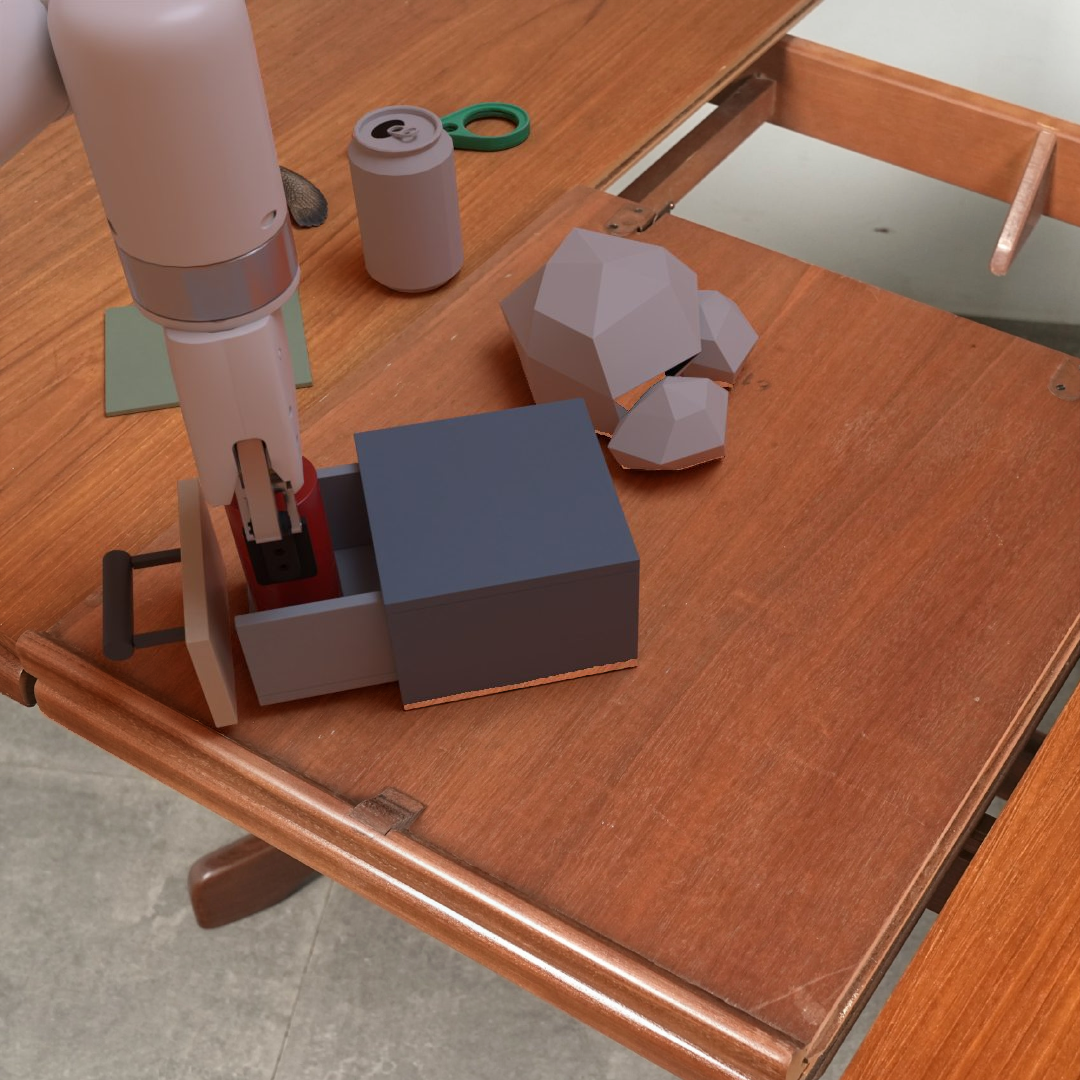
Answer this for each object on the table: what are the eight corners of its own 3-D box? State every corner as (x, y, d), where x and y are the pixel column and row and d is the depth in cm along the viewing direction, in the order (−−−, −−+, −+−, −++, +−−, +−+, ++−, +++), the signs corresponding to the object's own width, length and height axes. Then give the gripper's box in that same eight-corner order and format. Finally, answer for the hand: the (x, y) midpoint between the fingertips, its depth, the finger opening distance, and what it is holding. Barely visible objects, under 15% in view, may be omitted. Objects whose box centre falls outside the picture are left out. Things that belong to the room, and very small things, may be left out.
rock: (756, 312, 102) (767, 197, 94) (756, 501, 89) (769, 383, 81) (511, 301, 102) (503, 186, 95) (476, 487, 89) (464, 370, 82)
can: (411, 230, 109) (392, 87, 99) (484, 263, 106) (473, 118, 97) (346, 276, 104) (320, 131, 95) (421, 311, 102) (402, 165, 93)
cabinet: (404, 711, 77) (384, 604, 71) (373, 542, 86) (353, 433, 79) (637, 667, 80) (640, 559, 73) (585, 506, 88) (583, 396, 81)
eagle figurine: (187, 212, 108) (274, 224, 104) (191, 116, 106) (279, 125, 102) (255, 219, 115) (340, 231, 111) (260, 130, 113) (346, 138, 109)
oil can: (262, 655, 78) (218, 508, 69) (256, 591, 81) (212, 442, 72) (351, 639, 78) (318, 491, 70) (341, 576, 82) (309, 427, 73)
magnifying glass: (520, 110, 121) (519, 91, 119) (538, 144, 117) (537, 126, 116) (348, 137, 118) (346, 118, 116) (362, 173, 114) (359, 155, 113)
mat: (106, 417, 94) (105, 412, 94) (106, 313, 101) (104, 308, 101) (313, 386, 96) (312, 381, 96) (297, 286, 104) (296, 282, 103)
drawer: (126, 745, 75) (88, 660, 69) (124, 581, 83) (89, 494, 77) (441, 686, 78) (428, 600, 72) (410, 533, 85) (396, 445, 80)
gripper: (121, 164, 66) (205, 448, 80) (125, 387, 55) (222, 671, 69) (279, 145, 67) (335, 427, 81) (313, 359, 56) (372, 644, 70)
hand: (282, 537), depth 75 cm, fingers closed on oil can, 5 cm apart
